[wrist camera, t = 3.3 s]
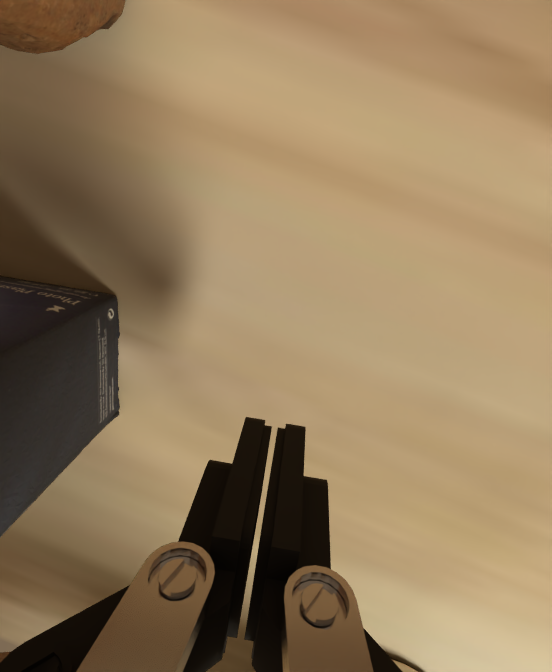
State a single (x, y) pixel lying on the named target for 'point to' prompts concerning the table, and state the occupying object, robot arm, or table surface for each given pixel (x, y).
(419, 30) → the table surface
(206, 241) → the table surface
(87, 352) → the small box
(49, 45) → the block
